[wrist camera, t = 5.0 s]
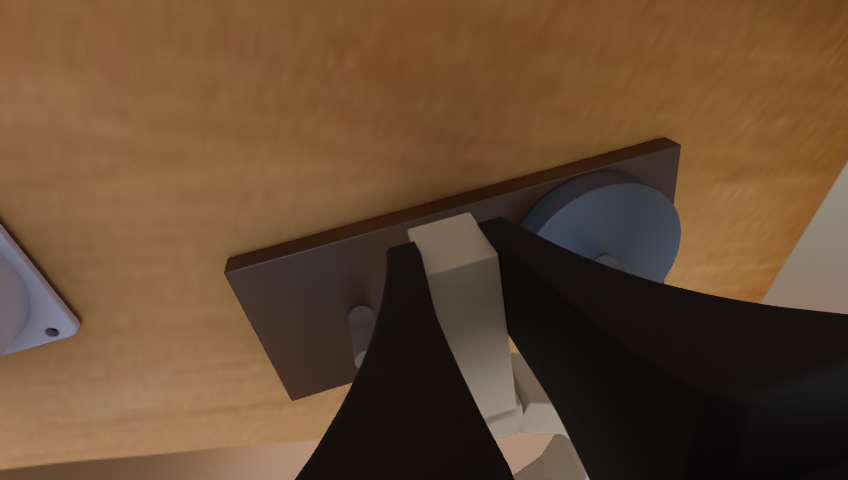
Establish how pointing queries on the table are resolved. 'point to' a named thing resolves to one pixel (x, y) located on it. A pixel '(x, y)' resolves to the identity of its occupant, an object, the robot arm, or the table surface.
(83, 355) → the table surface
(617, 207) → the rack
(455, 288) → the ring
